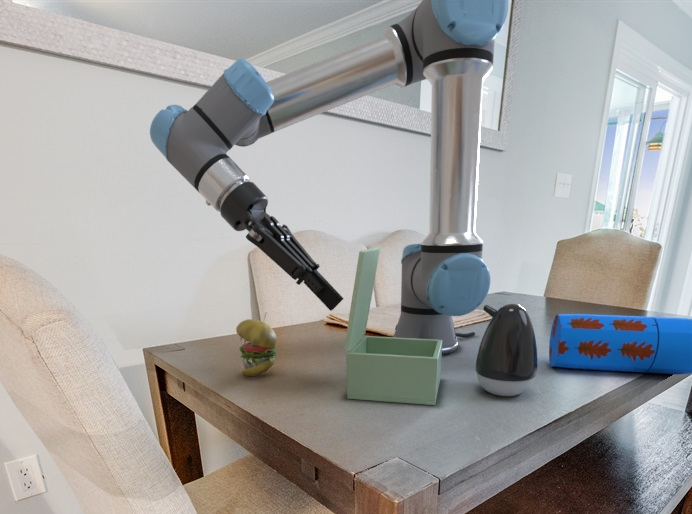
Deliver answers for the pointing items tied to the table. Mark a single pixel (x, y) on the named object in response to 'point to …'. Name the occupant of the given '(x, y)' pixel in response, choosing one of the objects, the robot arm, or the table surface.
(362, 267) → the lid
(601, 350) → the thermos
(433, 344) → the keepsake box
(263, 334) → the hamburger
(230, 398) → the table surface
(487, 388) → the pump dispenser
